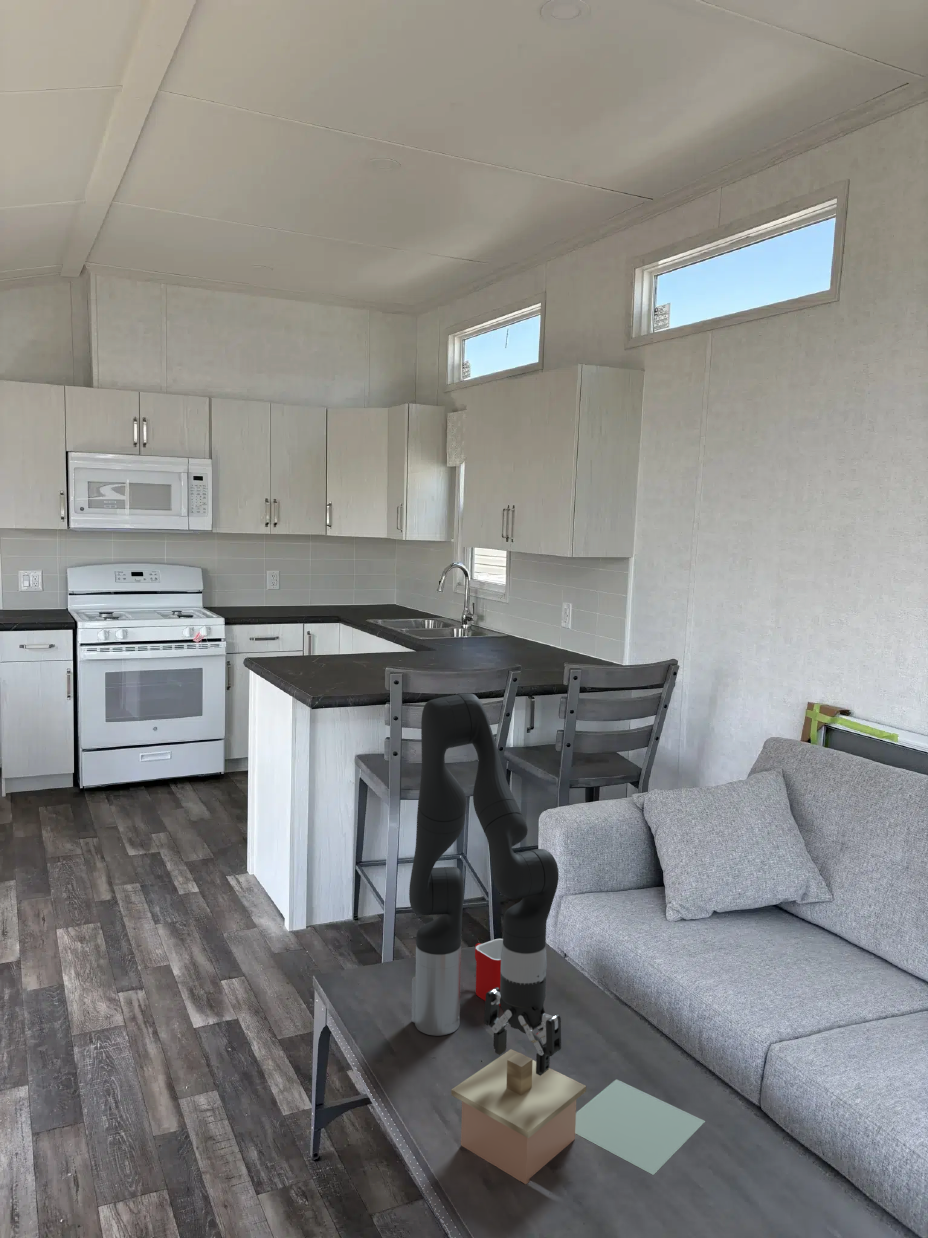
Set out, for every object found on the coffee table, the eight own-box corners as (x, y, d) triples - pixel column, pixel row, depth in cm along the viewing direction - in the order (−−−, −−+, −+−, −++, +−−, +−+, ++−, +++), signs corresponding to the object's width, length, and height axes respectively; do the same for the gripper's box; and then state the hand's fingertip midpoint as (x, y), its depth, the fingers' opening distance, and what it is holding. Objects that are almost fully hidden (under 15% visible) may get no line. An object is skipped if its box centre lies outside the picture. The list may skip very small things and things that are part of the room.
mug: (524, 997, 205) (525, 951, 203) (495, 1009, 200) (496, 961, 198) (489, 975, 214) (490, 931, 213) (461, 986, 209) (461, 940, 208)
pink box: (461, 1145, 156) (462, 1095, 155) (511, 1107, 167) (512, 1060, 166) (526, 1184, 147) (527, 1131, 146) (574, 1142, 158) (576, 1092, 157)
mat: (560, 1129, 161) (560, 1125, 161) (616, 1082, 175) (616, 1079, 174) (653, 1178, 149) (653, 1175, 149) (705, 1124, 163) (705, 1121, 163)
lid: (451, 1095, 155) (451, 1061, 155) (510, 1054, 167) (511, 1022, 167) (528, 1138, 145) (529, 1102, 144) (586, 1091, 157) (587, 1058, 156)
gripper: (475, 963, 155) (473, 1055, 157) (545, 994, 146) (542, 1091, 148) (503, 948, 161) (501, 1037, 163) (572, 976, 152) (569, 1070, 154)
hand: (520, 1062), depth 155 cm, fingers open, 8 cm apart
